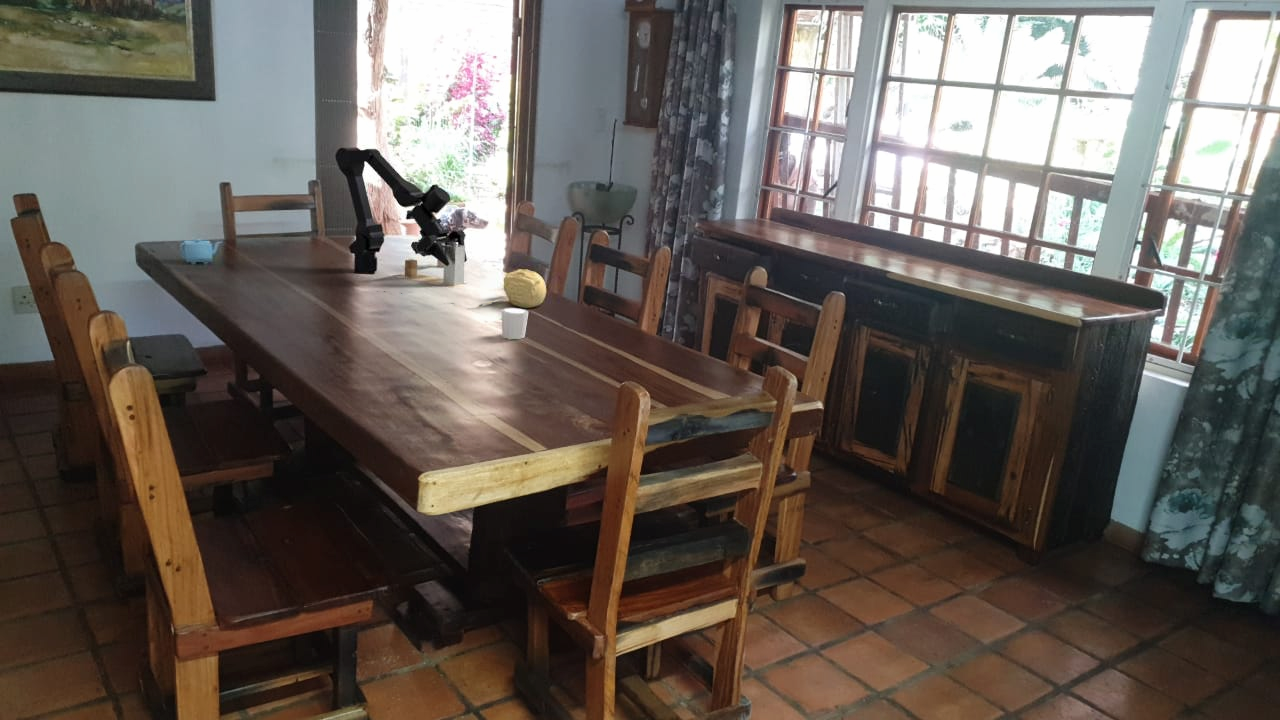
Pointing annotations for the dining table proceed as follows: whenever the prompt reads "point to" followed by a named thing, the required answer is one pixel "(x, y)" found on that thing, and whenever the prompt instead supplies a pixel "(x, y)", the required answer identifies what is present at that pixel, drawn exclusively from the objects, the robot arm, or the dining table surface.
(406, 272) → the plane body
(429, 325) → the dining table surface
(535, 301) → the yellow lumpy ball
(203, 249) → the teapot
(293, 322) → the dining table surface
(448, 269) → the tall grey block
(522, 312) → the shot glass
